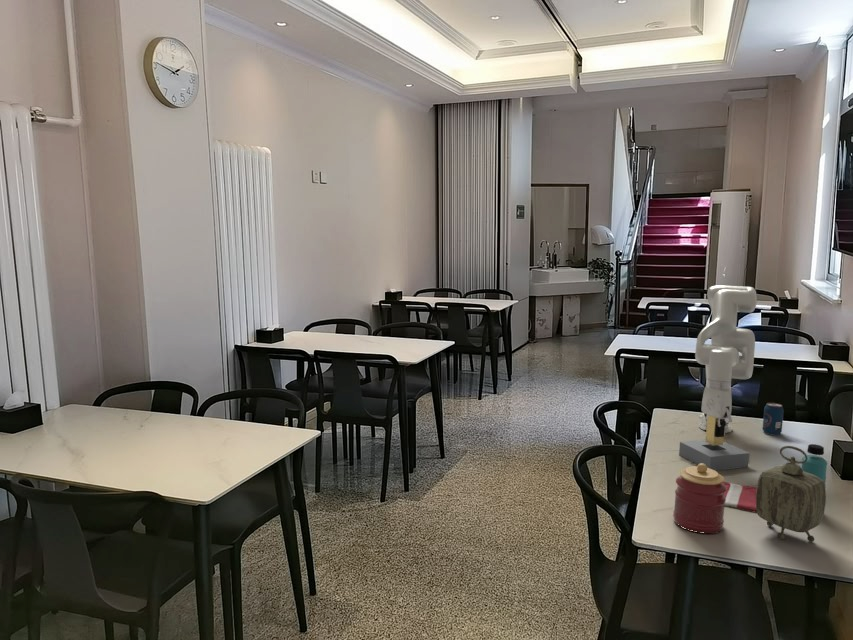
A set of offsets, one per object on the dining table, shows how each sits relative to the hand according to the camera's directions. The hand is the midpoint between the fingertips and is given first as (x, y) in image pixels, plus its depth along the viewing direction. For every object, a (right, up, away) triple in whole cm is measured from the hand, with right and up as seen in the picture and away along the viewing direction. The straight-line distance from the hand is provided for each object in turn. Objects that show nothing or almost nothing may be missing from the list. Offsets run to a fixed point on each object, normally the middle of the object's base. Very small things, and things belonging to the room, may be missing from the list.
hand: (714, 434), depth 226 cm
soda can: (+39, -6, +34) cm, 52 cm away
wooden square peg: (0, -3, 0) cm, 3 cm away
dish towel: (-9, -15, -29) cm, 34 cm away
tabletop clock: (-6, -18, -55) cm, 58 cm away
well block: (0, -10, +2) cm, 10 cm away
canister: (-27, -17, -48) cm, 57 cm away
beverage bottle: (+10, -16, -39) cm, 43 cm away
